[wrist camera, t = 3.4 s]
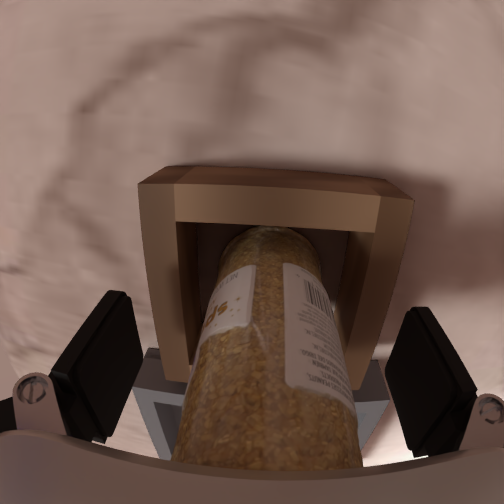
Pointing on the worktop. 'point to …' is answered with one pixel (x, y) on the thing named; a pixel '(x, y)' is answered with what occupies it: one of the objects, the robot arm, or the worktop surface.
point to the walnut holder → (270, 214)
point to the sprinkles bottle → (269, 365)
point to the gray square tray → (172, 392)
